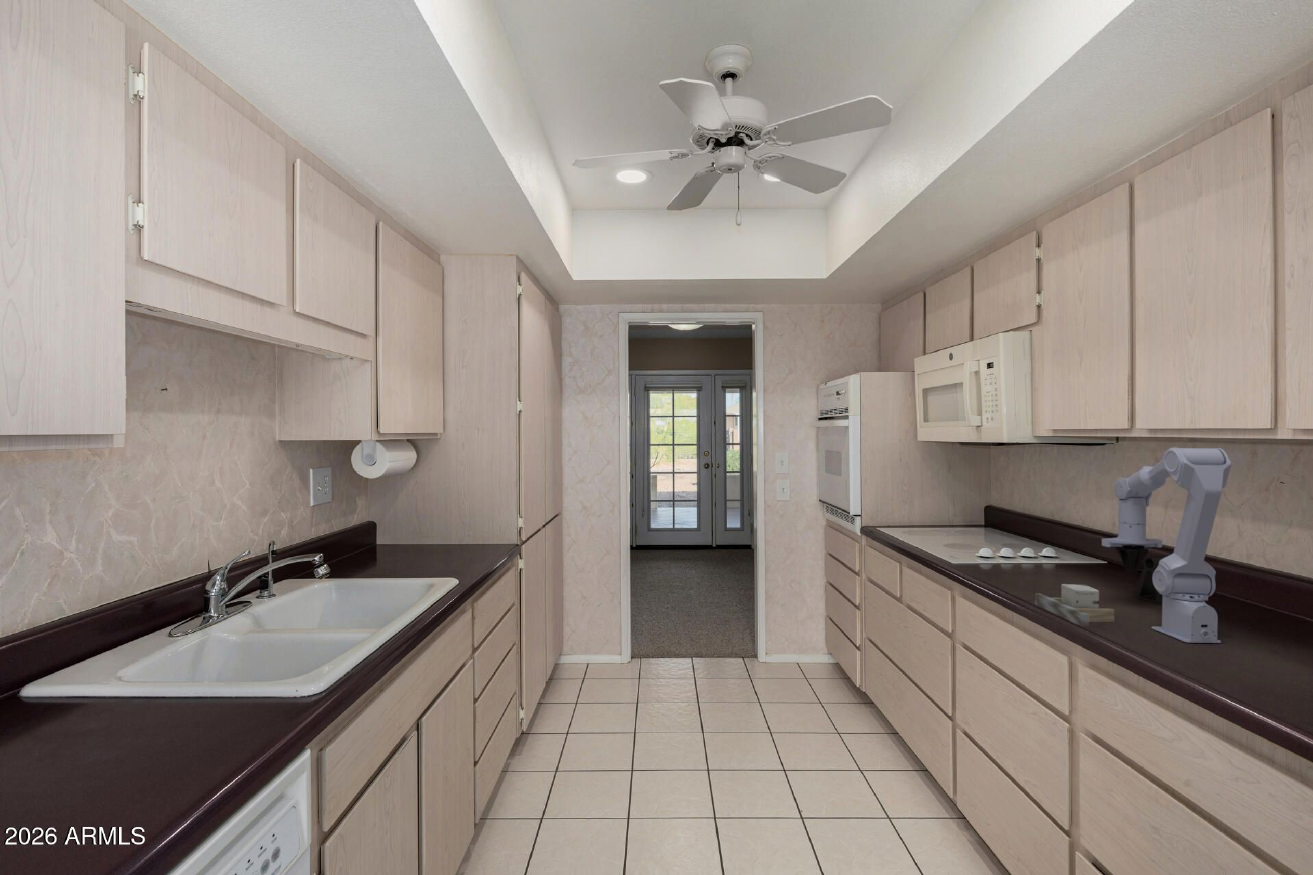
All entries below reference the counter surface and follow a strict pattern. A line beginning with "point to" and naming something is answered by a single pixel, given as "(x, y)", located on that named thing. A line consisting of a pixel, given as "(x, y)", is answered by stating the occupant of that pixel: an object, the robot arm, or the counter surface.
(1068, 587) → the skincare box
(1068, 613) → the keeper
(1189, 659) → the counter surface
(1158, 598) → the door stopper
